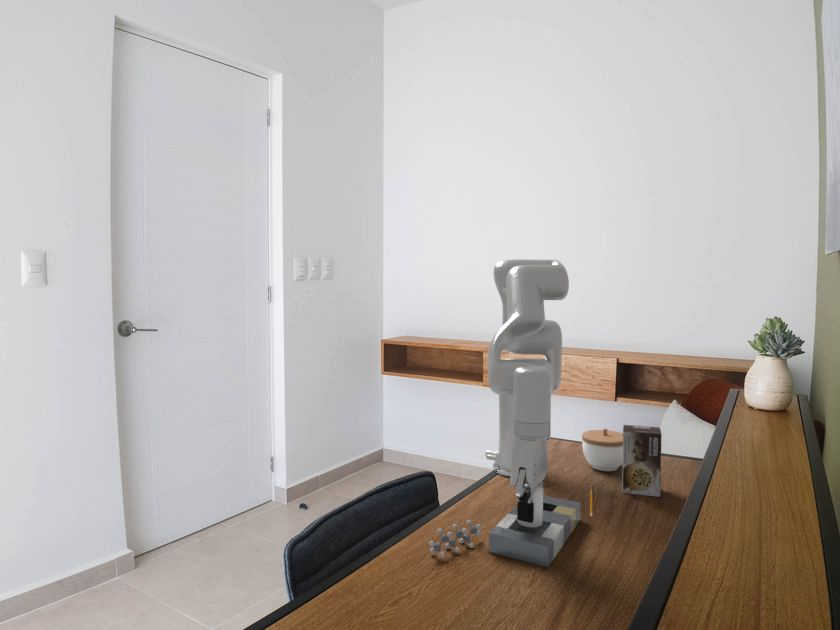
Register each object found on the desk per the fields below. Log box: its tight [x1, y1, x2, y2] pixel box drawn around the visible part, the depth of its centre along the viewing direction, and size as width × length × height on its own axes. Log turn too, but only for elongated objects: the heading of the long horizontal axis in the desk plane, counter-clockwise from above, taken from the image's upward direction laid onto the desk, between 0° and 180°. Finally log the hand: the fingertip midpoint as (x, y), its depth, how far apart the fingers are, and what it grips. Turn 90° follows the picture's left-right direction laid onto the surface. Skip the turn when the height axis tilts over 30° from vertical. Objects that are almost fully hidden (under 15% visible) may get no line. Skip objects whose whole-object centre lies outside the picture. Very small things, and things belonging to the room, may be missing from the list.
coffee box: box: [621, 424, 663, 498], centre depth 148 cm, size 9×6×16 cm
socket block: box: [488, 494, 581, 568], centre depth 124 cm, size 12×24×4 cm, turn 151°
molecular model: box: [428, 519, 482, 558], centre depth 117 cm, size 14×4×5 cm, turn 130°
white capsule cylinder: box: [518, 483, 544, 527], centre depth 119 cm, size 5×5×7 cm
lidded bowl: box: [581, 428, 623, 472], centre depth 166 cm, size 13×13×11 cm
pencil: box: [589, 485, 594, 518], centre depth 142 cm, size 19×1×1 cm, turn 164°
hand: (530, 514), depth 119 cm, fingers closed on white capsule cylinder, 5 cm apart
